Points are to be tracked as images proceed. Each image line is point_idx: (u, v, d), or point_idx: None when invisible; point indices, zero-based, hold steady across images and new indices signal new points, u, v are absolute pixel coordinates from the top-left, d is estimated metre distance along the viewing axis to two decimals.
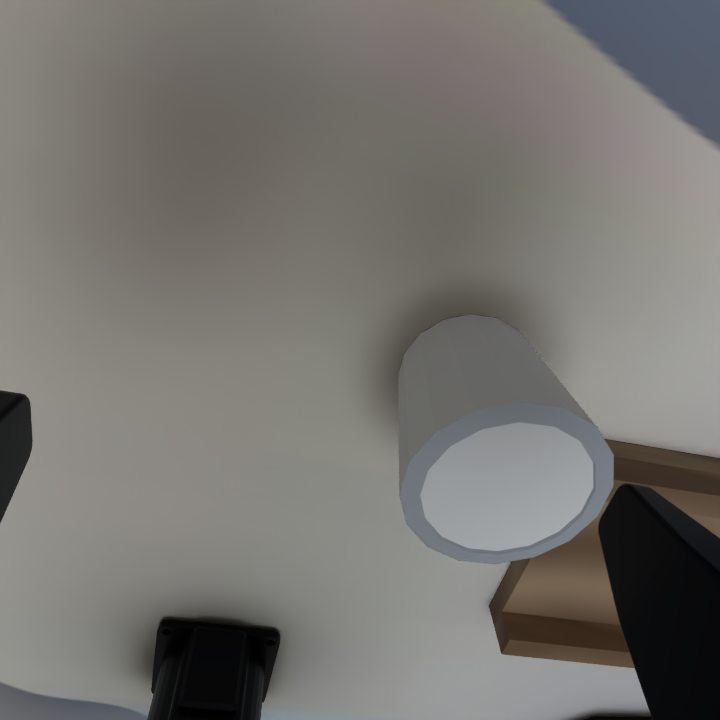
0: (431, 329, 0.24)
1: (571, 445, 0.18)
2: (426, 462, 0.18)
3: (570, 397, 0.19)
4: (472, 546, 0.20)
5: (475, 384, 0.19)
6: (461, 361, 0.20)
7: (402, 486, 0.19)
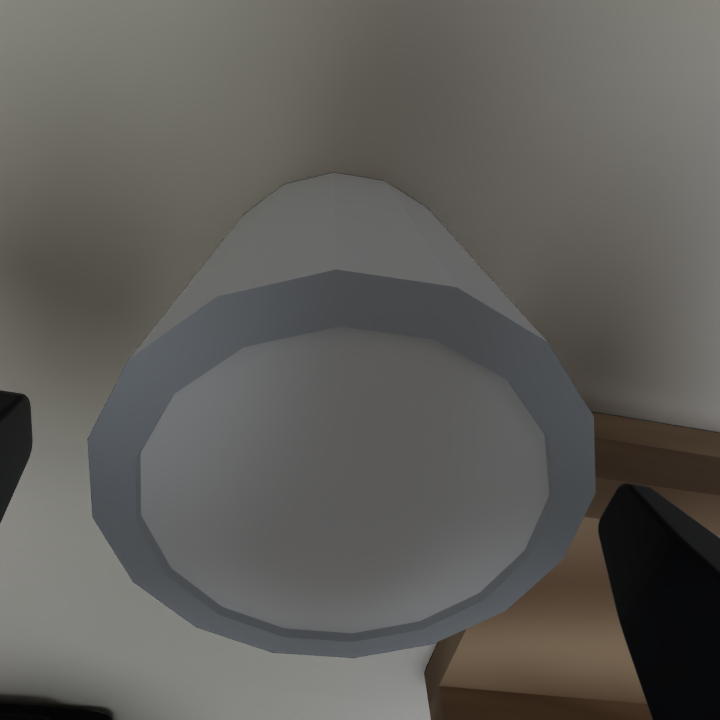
0: (261, 202, 0.13)
1: (487, 392, 0.07)
2: (128, 438, 0.07)
3: (494, 288, 0.08)
4: (294, 625, 0.09)
5: (262, 252, 0.08)
6: (265, 225, 0.09)
7: (93, 497, 0.08)
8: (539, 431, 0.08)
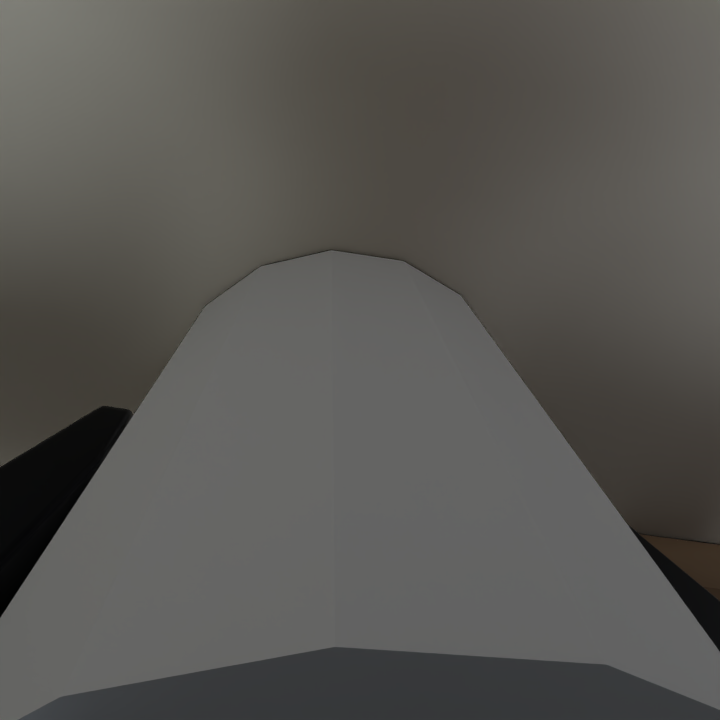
0: (229, 291, 0.09)
1: None
2: None
3: (617, 526, 0.05)
4: None
5: (194, 487, 0.04)
6: (218, 380, 0.06)
7: None
8: None
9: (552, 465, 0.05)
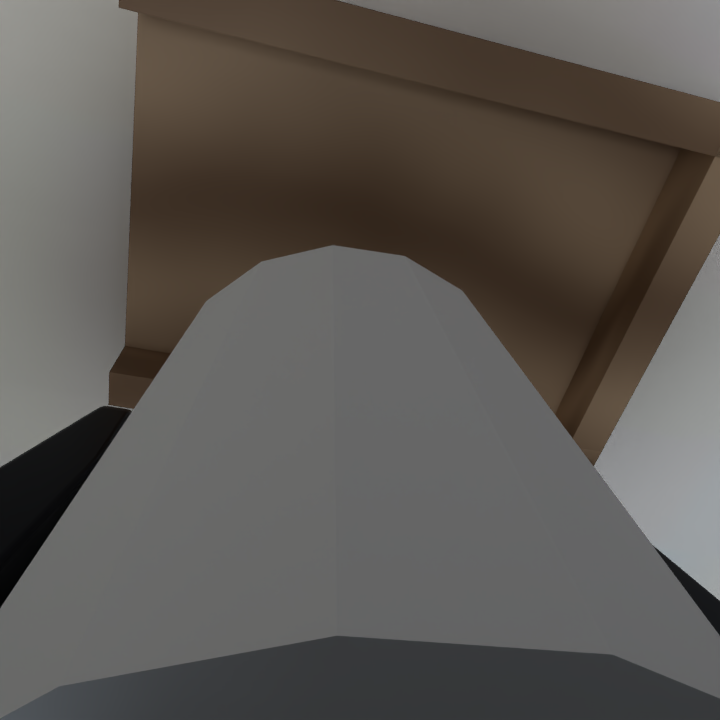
0: (229, 286, 0.09)
1: None
2: None
3: (621, 519, 0.05)
4: None
5: (195, 479, 0.04)
6: (219, 373, 0.06)
7: None
8: None
9: (556, 458, 0.05)
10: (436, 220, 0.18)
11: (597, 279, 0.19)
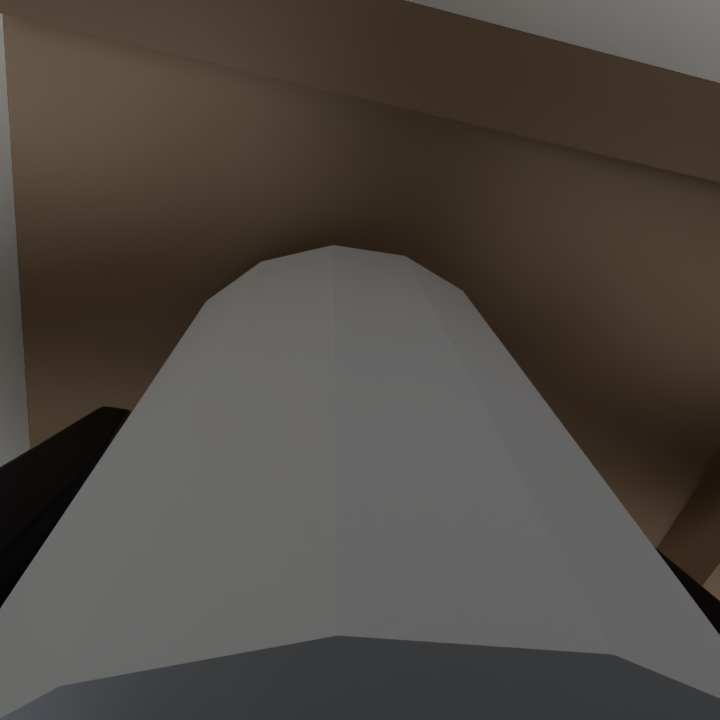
0: (230, 287, 0.09)
1: None
2: None
3: (621, 519, 0.05)
4: None
5: (195, 478, 0.04)
6: (219, 372, 0.06)
7: None
8: None
9: (556, 458, 0.05)
10: (490, 322, 0.12)
11: None
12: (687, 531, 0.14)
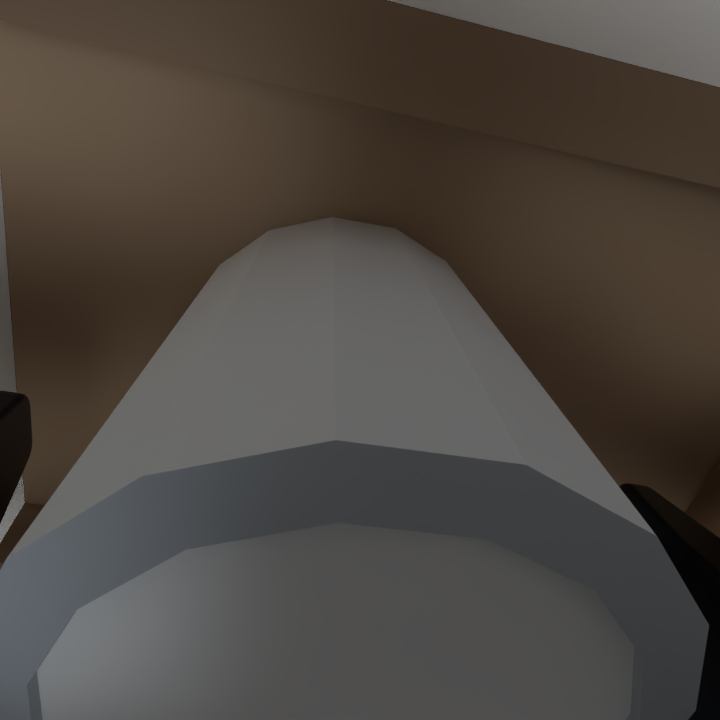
0: (241, 251, 0.10)
1: (557, 597, 0.05)
2: (15, 657, 0.05)
3: (556, 416, 0.06)
4: None
5: (226, 369, 0.05)
6: (239, 306, 0.07)
7: None
8: (628, 645, 0.05)
9: (508, 372, 0.06)
10: None
11: None
12: None
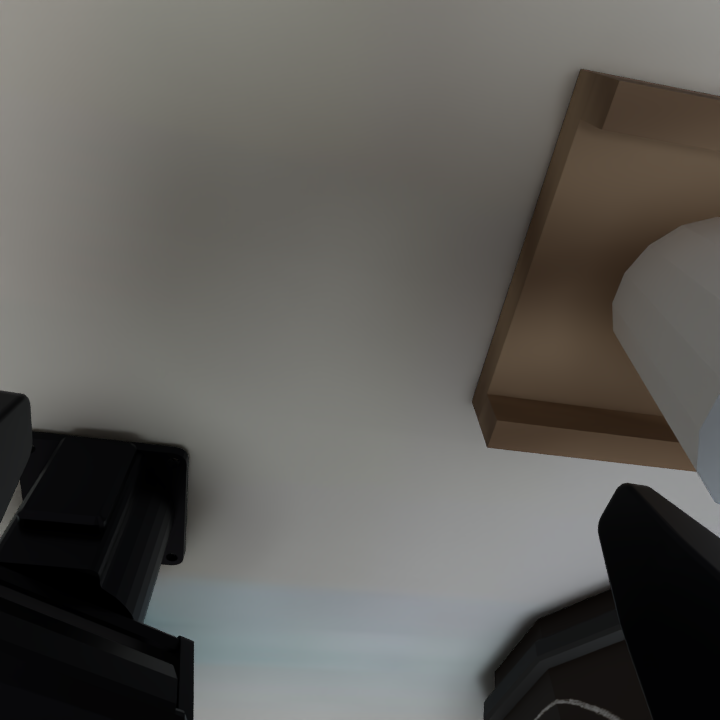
0: (667, 237, 0.19)
1: None
2: None
3: None
4: None
5: None
6: None
7: (705, 418, 0.14)
8: None
9: None
10: None
11: None
12: None
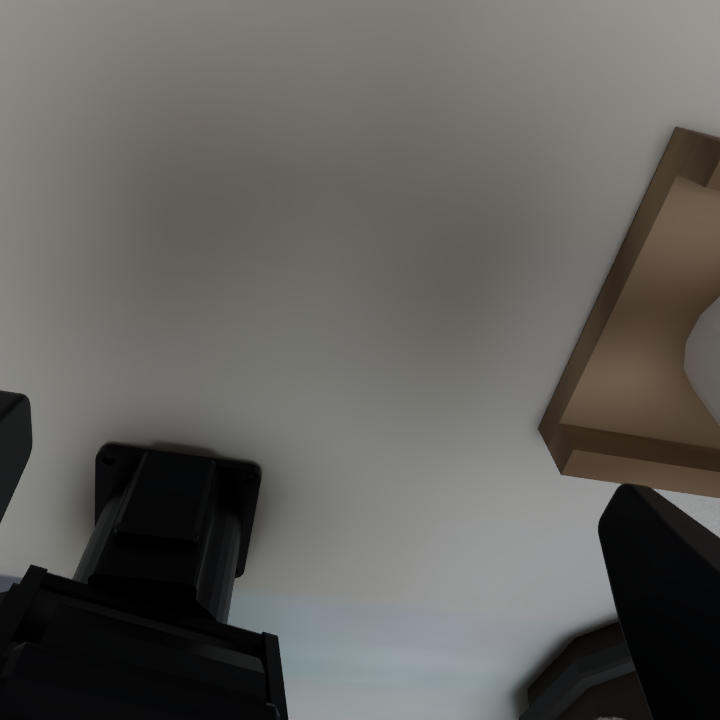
0: None
1: None
2: None
3: None
4: None
5: None
6: None
7: None
8: None
9: None
10: None
11: None
12: None
